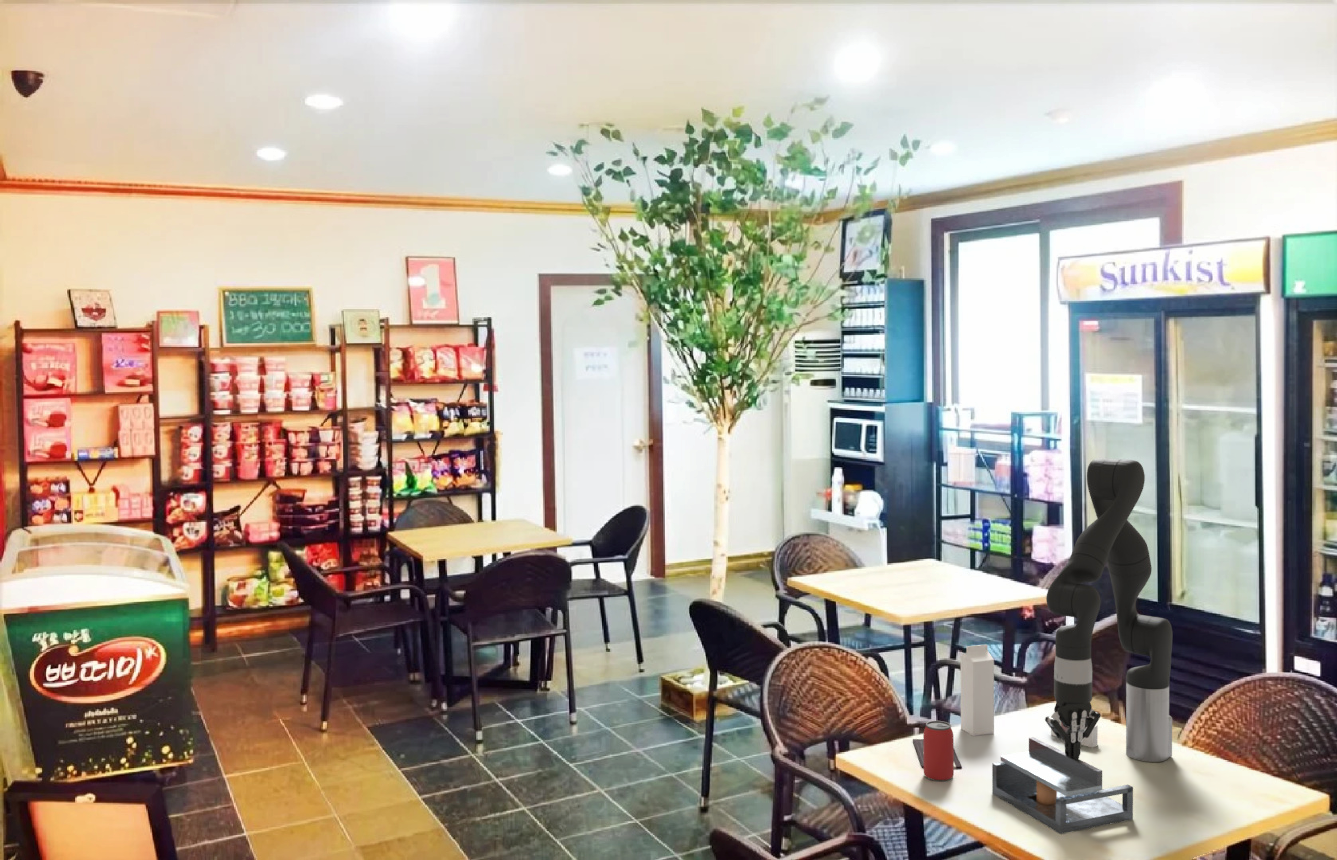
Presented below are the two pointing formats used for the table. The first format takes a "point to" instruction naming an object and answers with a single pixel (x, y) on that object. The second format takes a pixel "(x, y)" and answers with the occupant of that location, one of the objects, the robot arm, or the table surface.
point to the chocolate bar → (920, 752)
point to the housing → (1061, 802)
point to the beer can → (938, 751)
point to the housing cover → (1056, 769)
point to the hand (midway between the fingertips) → (1072, 758)
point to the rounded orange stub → (1046, 795)
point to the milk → (977, 691)
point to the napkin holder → (1089, 741)
